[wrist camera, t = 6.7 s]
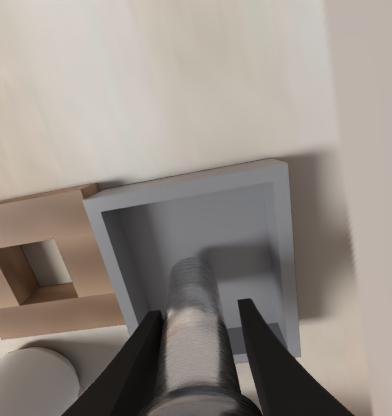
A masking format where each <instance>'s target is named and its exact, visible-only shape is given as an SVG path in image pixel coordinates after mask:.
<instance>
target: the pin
mask: <svg viewBox="0 0 392 416" xmlns="http://www.w3.org/2000/svg"><path fill="white" fill-rule="evenodd" d="M138 416H263V415H262V413H261V411H260V410H259V408H258V407H257V406H256V405H255V404H254V403H253V402H252V401H251V400H250V399H248V398H247V397H246V396H244V395H242V394H241V390H240V385H239V381H238V376H237V372H236V367H235V362H234V358H233V353H232V348H231V344H230V339H229V335H228V330H227V325H226V321H225V316H224V311H223V307H222V302H221V298H220V293H219V288H218V284H217V279H216V274H215V271H214V268H213V267H212V266H211V264H210V263H209V262H207V261H206V260H204V259H201V258H197V257H189V258H185V259H182V260H180V261H178V262H177V263H176V264H175V265H174V266H173V267H172V269H171V271H170V275H169V283H168V290H167V298H166V306H165V313H164V321H163V329H162V336H161V344H160V352H159V359H158V367H157V375H156V383H155V390H154V398H153V400H152V401H151V402H150V403H149V404H147V405H146V406H145V407H144V408H143V409H142V410H141V411H140V413H139V414H138Z"/></svg>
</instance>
